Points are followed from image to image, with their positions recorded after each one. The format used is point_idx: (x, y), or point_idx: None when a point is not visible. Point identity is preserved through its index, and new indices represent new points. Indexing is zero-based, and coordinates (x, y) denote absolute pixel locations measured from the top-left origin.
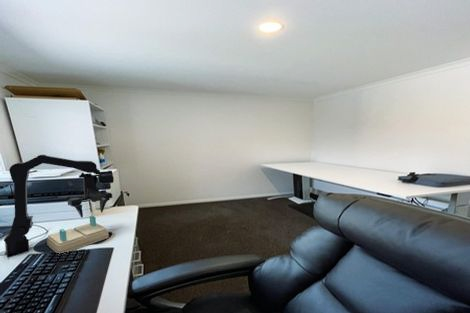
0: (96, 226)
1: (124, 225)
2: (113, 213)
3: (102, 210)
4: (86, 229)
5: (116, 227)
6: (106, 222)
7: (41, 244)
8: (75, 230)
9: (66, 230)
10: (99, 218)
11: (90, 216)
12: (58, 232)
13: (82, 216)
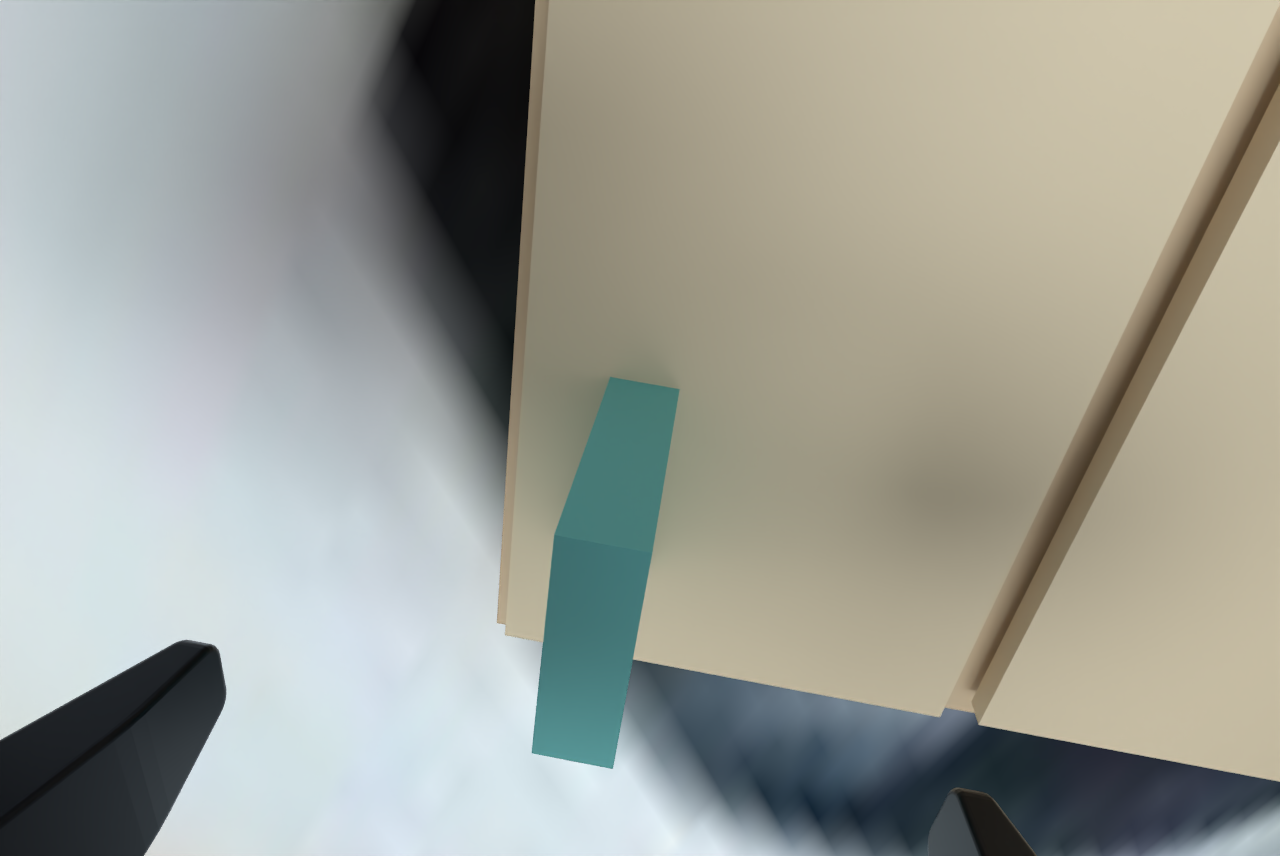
0: (645, 296)
1: (19, 195)
2: None
3: (125, 692)
4: (925, 346)
5: (190, 264)
6: (232, 649)
7: None
8: None
9: (1109, 721)
10: (245, 850)
11: (602, 740)
12: (1247, 765)
13: (981, 822)
